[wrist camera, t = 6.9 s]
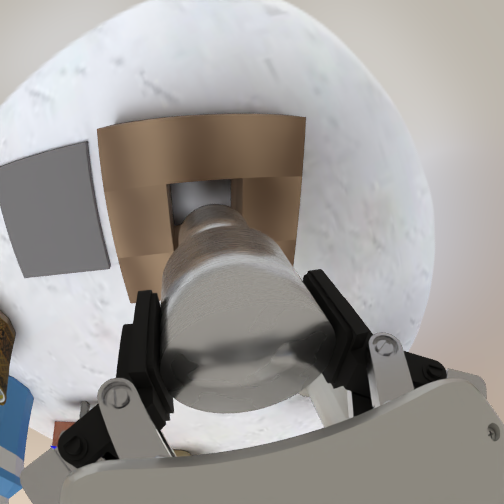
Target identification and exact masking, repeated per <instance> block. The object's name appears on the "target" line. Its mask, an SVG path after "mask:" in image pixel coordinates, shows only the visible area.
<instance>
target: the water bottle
mask: <svg viewBox="0 0 504 504" xmlns="http://www.w3.org/2000/svg"><path fill="white" fill-rule="evenodd" d="M6 395H7V399H6V403H5V404H4V405H3V406H2V405H0V504H9V502H8V501H9V498H10V497H12V496H13V495H14V494H15V493H17V492H18V491H19V490H21V489H22V485H21V483H20V475H21V472H22V470H23V469H24V454H25V447H26V439H27V432H28V426H29V420H30V414H31V409H32V405H33V400H34V398H33V396H32V394H31V392H30V390H29V389H28V388H27V387H25V386H24V385H23V384H21V383H20V382H19V381H17V380H16V379H15V378H14V377H11V376H9V377H8V386H7V394H6Z"/></svg>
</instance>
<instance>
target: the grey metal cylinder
mask: <svg viewBox="0 0 504 504" xmlns="http://www.w3.org/2000/svg"><path fill="white" fill-rule="evenodd" d="M335 344H336V338H335V332H334V329H333V327H332V325H331V324H330V322H329V321H328V319H327V318H326V316H325V314H324V313H323V311H322V310H321V308H320V307H319V305H318V304H317V302H316V301H315V299H314V298H313V296H312V295H311V293H310V292H309V290H308V289H307V287H306V286H305V284H304V283H303V281H302V280H301V278H300V277H299V275H298V274H297V272H296V271H295V269H294V268H293V266H292V265H291V263H290V262H289V260H288V259H287V257H286V256H285V254H284V253H283V251H282V250H281V248H280V247H279V246H278V244H277V243H276V242H275V241H274V240H273V239H271V238H270V237H269V236H267V235H266V234H264V233H262V232H260V231H258V230H255V229H252V228H249V226H248V225H247V223H246V221H245V219H244V218H243V216H242V215H241V214H240V213H239V212H238V211H236V210H235V209H233V208H231V207H229V206H226V205H221V204H210V205H205V206H202V207H200V208H198V209H196V210H194V211H193V212H191V213H190V214H189V215H188V216H187V217H186V219H185V220H184V221H183V223H182V225H181V227H180V231H179V247H178V248H177V249H176V250H175V251H174V252H173V253H172V255H171V256H170V258H169V260H168V261H167V263H166V266H165V268H164V271H163V276H162V288H161V310H160V374H161V377H162V379H163V381H164V384H165V386H166V389H167V391H168V393H169V394H170V395H171V396H172V397H173V398H175V399H176V400H177V401H179V402H181V403H182V404H184V405H186V406H189V407H191V408H194V409H197V410H201V411H206V412H212V413H241V412H248V411H253V410H258V409H262V408H265V407H268V406H271V405H274V404H277V403H279V402H281V401H284V400H286V399H288V398H290V397H292V396H294V395H295V394H297V393H298V392H300V391H302V390H303V389H304V388H306V387H307V386H308V385H310V384H311V383H312V382H313V381H314V380H315V379H316V378H317V377H318V376H319V375H320V374H321V373H322V372H323V371H324V369H325V368H326V367H327V365H328V364H329V361H330V358H331V355H332V352H333V349H334V346H335Z"/></svg>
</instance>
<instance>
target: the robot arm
mask: <svg viewBox="0 0 504 504" xmlns="http://www.w3.org/2000/svg"><path fill="white" fill-rule="evenodd" d="M303 283H304V284H305V286H306V287H307V289H308V290H309V292H310V293H311V295H312V296H313V298H314V299H315V301H316V302H317V304H318V305H319V307H320V308H321V310H322V311H323V313H324V314H325V316H326V318H327V319H328V321H329V322H330V324H331V325H332V327H333V329H334V332H335V338H336V344H335V346H334V349H333V352H332V355H331V358H330V361H329V364H328V365H327V367H326V368H325V369H324V371H323V372H322V373H321V374H320V375H319V376H318V377H317V378H316V379H315V380H314V381H313V382H312V383H311V384H310V385H308V386H307V387H306V388H304V389H303V390H302V391H300V392H298V393H299V394H300V395H302V396H306V397H310V398H311V400H312V403H313V405H314V407H315V409H316V411H317V413H318V416H319V418H320V420H321V422H322V424H323V426H324V428H322V429H319V430H316V431H312V432H309V433H306V434H303V435H299V436H296V437H292V438H288V439H284V440H280V441H276V442H272V443H268V444H263V445H259V446H254V447H249V448H243V449H238V450H232V451H226V452H219V453H211V454H202V455H192V456H181V457H177V456H176V455H175V453H174V451H173V450H172V448H171V446H170V445H169V443H168V441H167V439H166V438H165V436H164V434H163V432H162V430H161V429H162V428H163V427H164V426H165V425H166V421H170V414H169V413H174V406H173V397H172V396H171V395H170V394H169V393H168V391H167V389H166V386H165V384H164V381H163V379H162V377H161V374H160V310H161V307H160V303H159V298H158V294H157V293H153V292H152V290H143V291H138V293H137V300H136V306H135V313H134V321H133V324H124V325H123V328H122V335H121V341H120V349H119V356H118V364H117V374H116V378H114V379H110V380H108V381H106V382H105V383H104V384H103V385H101V387H100V389H99V390H98V395H97V398H98V404H97V405H96V406H95V407H93V408H92V409H91V410H90V411H89V412H87V413H86V414H85V415H84V416H83V417H81V418H80V419H79V420H78V421H77V422H75V423H74V424H73V425H72V426H70V427H69V428H68V429H67V430H66V431H64V432H63V433H62V435H61V436H60V438H59V440H58V446H57V447H56V448H55V449H53V448H52V447H51V448H50V449H49V450H48V451H46V452H45V453H44V454H42V455H41V456H40V457H39V458H37V459H36V460H35V461H33V462H32V463H31V464H29V465H28V466H27V467H26V468H24V469H23V470H22V472H21V475H20V483H21V485H22V488H23V489H24V491H25V493H26V494H27V496H28V497H29V499H30V500H31V502H32V503H33V504H504V424H503V423H502V421H501V420H500V418H499V416H498V415H497V413H496V412H495V411H494V409H493V408H492V407H491V405H490V404H489V402H488V401H487V395H486V384H485V382H484V380H483V379H482V378H481V377H479V376H477V375H473V374H469V373H465V372H461V371H457V370H453V369H449V368H448V369H447V370H445V368H444V366H443V365H442V364H441V363H439V362H438V361H435V360H433V359H429V358H426V357H422V356H419V355H416V354H412V353H409V352H406V351H403V348H402V345H401V343H400V341H399V340H398V339H397V338H396V337H394V336H393V335H391V334H388V333H376V334H374V335H373V334H372V333H371V331H370V330H369V329H368V327H367V326H366V325H365V323H364V322H363V321H362V319H361V318H360V317H359V315H358V314H357V313H356V312H355V310H354V309H353V308H352V306H351V305H350V304H349V303H348V301H347V300H346V299H345V298H344V297H343V296H342V294H341V293H340V292H339V290H338V289H337V288H336V287H335V285H334V284H333V283H332V282H331V280H330V279H329V278H328V277H327V275H326V274H325V273H324V272H323V270H321V269H318V270H311V271H308V273H307V275H304V278H303Z"/></svg>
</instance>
